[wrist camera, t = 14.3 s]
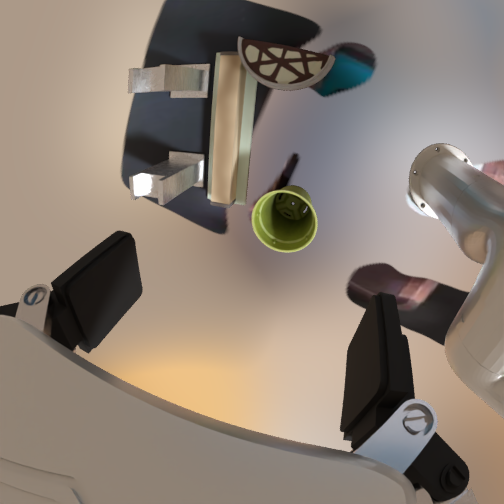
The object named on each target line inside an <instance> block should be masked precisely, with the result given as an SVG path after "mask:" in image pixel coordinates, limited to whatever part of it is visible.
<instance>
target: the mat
mask: <svg viewBox="0 0 504 504" xmlns="http://www.w3.org/2000/svg"><path fill="white" fill-rule="evenodd" d="M220 57H221V55H220V53H216V63H215V74H214V86H213V99H212V114H211V130H210V148H209V171H208V199H211V190H212V167H213V148H214V131H215V116H216V103H217V90H218V78H219V68H220ZM256 91H257V80H255V79H254V78H253V77H252V76H251V75H250V74H249V73H248V72H247V73H246V83H245V93H244V104H243V115H242V126H241V137H240V149H239V161H238V174H237V186H236V202H235V204H241V205H245V204H246V196H247V186H248V174H249V163H250V153H251V142H252V132H253V121H254V111H255V101H256Z"/></svg>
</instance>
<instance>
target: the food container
mask: <svg viewBox="0 0 504 504" xmlns="http://www.w3.org/2000/svg"><path fill="white" fill-rule="evenodd" d="M238 54H239V57H240V60H241V62H242V64H243V66H244V67H245V69H246V70H247V72H248V73H249V74H250V75H251V76H252V77H253V78H254V79H255V80H257V81H258V82H260V83H261V84H263V85H265V86H268V87H270V88H274V89H278V90H290V91H291V90H299V89H303V88H307V87H309V86H311V85H314V84H315V83H317V82H318V81H320V80H321V79H322V78H323V77H325V76H326V75H327V73H328V72H329V71H330V69H331V68H332V66H333V64H334V61H335V59H336V58H335V57H334V56H332V55H331V54H330V56H327V55H324V54H320V53H315V52H312V51H308V50H303V49H299V48H295V47H291V46H287V45H281V44H275V43H269V42H263V41H256V40H248V39H244V38H242V37H240V36H239V37H238Z"/></svg>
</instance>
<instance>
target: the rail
mask: <svg viewBox="0 0 504 504" xmlns="http://www.w3.org/2000/svg"><path fill="white" fill-rule="evenodd" d="M220 55H221V57H220V68H219V78H218V90H217V103H216V116H215V131H214V148H213V167H212V190H211V204H210V205H214V206H219V207H225V208H230V207H231V206H232V205H233V204H234V203H235V202H236V186H237V174H238V161H239V149H240V137H241V126H242V115H243V104H244V93H245V83H246V73H247V70H246V69H245V67H244V66H243V64H242V62H241V60H240V57H239V54H238V52H220Z"/></svg>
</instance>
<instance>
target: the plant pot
mask: <svg viewBox="0 0 504 504" xmlns="http://www.w3.org/2000/svg"><path fill="white" fill-rule="evenodd" d="M281 193H283V195H282V197H281V199H280V200H279V196H280V194H281ZM292 202H294V203H295V204H294V205H292ZM306 206H308V208H307V211H306V212H305V213H303V211H304V210H305V208H306ZM284 212H286V213H287V214H289V215H291V216H287V215H285V214H284ZM252 226H253V229H254V232H255V234H256V235H257V237H258V238H259V240H260V241H261V242H262V243H263V244H265V245H266V246H267V247H269V248H271V249H273V250H276V251H279V252H295V251H298V250H301V249H303V248H305V247H306V246H307V245H309V243H310V242H311V241H312V240H313V238H314V237H315V234H316V231H317V216H316V212H315V210H314V208H313V206H312V204H311V199H310V196H309V194H308V193H307V192H306V191H305V190H304V189H303V188H301V187H299V186H294V185H291V186H286V187H283V188H282V189H280V190H275V191H271V192H269V193H267V194H265V195H264V196H262V197H261V198H260V199H259V200H258V201H257V203H256V204H255V206H254V209H253V212H252Z"/></svg>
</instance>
